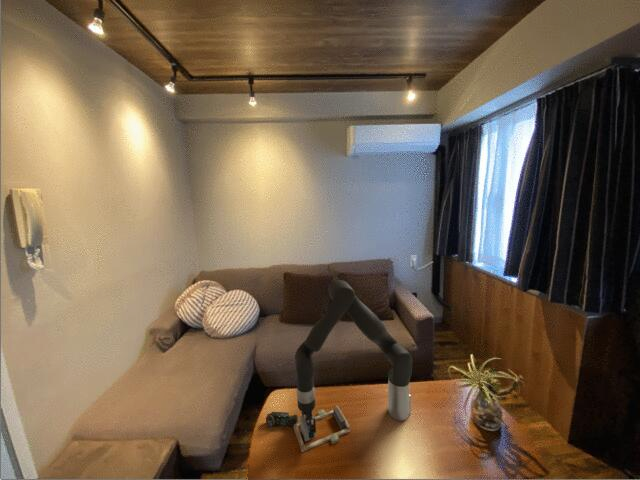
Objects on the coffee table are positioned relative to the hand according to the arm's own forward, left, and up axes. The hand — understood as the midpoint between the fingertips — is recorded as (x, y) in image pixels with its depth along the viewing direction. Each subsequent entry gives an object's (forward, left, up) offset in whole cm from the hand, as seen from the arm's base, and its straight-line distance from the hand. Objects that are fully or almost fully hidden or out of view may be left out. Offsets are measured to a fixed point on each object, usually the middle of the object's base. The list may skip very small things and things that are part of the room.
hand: (308, 429), depth 109 cm
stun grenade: (+10, -9, -3) cm, 14 cm away
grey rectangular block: (0, 0, -3) cm, 3 cm away
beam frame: (-6, 0, -3) cm, 7 cm away
